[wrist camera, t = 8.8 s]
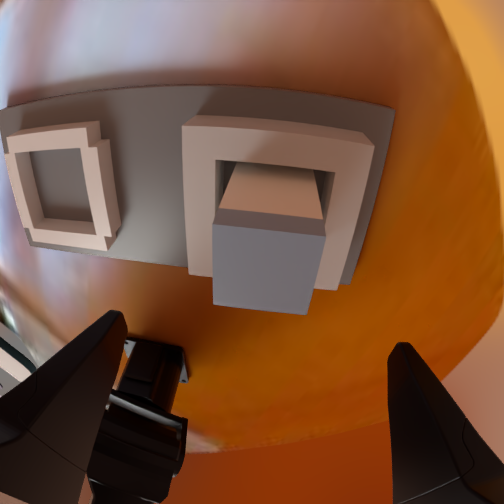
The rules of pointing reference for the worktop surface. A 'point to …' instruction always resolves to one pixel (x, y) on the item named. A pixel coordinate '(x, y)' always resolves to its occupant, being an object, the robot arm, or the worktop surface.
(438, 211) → the worktop surface
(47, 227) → the panel
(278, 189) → the plug
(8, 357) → the external hard drive
